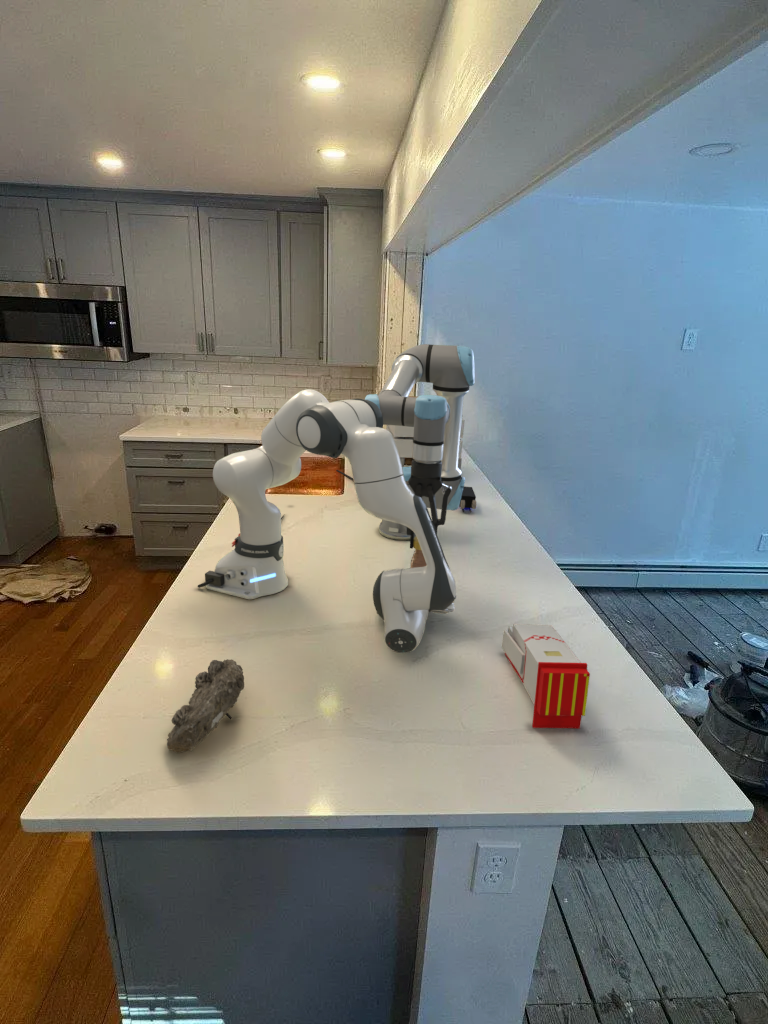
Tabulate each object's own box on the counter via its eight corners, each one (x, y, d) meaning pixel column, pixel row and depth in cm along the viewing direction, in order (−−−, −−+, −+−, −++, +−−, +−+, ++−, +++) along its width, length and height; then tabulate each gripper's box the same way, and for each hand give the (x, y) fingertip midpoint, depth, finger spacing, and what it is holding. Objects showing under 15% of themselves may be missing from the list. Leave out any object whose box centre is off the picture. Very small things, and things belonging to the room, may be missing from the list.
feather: (291, 508, 223) (294, 504, 222) (274, 533, 196) (277, 528, 195) (287, 506, 222) (290, 502, 222) (270, 530, 196) (272, 526, 195)
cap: (426, 543, 149) (427, 536, 148) (430, 550, 145) (431, 542, 145) (411, 544, 149) (411, 536, 148) (414, 550, 145) (415, 542, 144)
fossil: (192, 660, 117) (244, 628, 112) (224, 691, 120) (276, 661, 115) (142, 746, 98) (202, 712, 93) (182, 779, 101) (242, 748, 96)
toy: (548, 608, 134) (599, 669, 104) (543, 661, 136) (591, 735, 107) (497, 607, 133) (533, 668, 104) (493, 660, 136) (527, 734, 107)
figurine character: (476, 517, 222) (470, 501, 236) (478, 500, 219) (472, 484, 232) (459, 517, 222) (454, 501, 236) (461, 499, 219) (456, 484, 232)
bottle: (404, 603, 153) (408, 540, 147) (417, 598, 156) (421, 536, 150) (416, 610, 149) (420, 546, 143) (429, 605, 152) (434, 542, 146)
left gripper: (454, 601, 136) (458, 576, 149) (371, 590, 139) (382, 567, 152) (452, 624, 138) (456, 597, 151) (370, 613, 141) (381, 588, 154)
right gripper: (462, 459, 141) (454, 545, 149) (395, 453, 144) (390, 538, 152) (461, 466, 134) (452, 557, 142) (390, 460, 137) (385, 549, 145)
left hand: (418, 582), depth 151 cm, fingers closed on bottle, 5 cm apart
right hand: (420, 547), depth 147 cm, fingers closed on cap, 4 cm apart
